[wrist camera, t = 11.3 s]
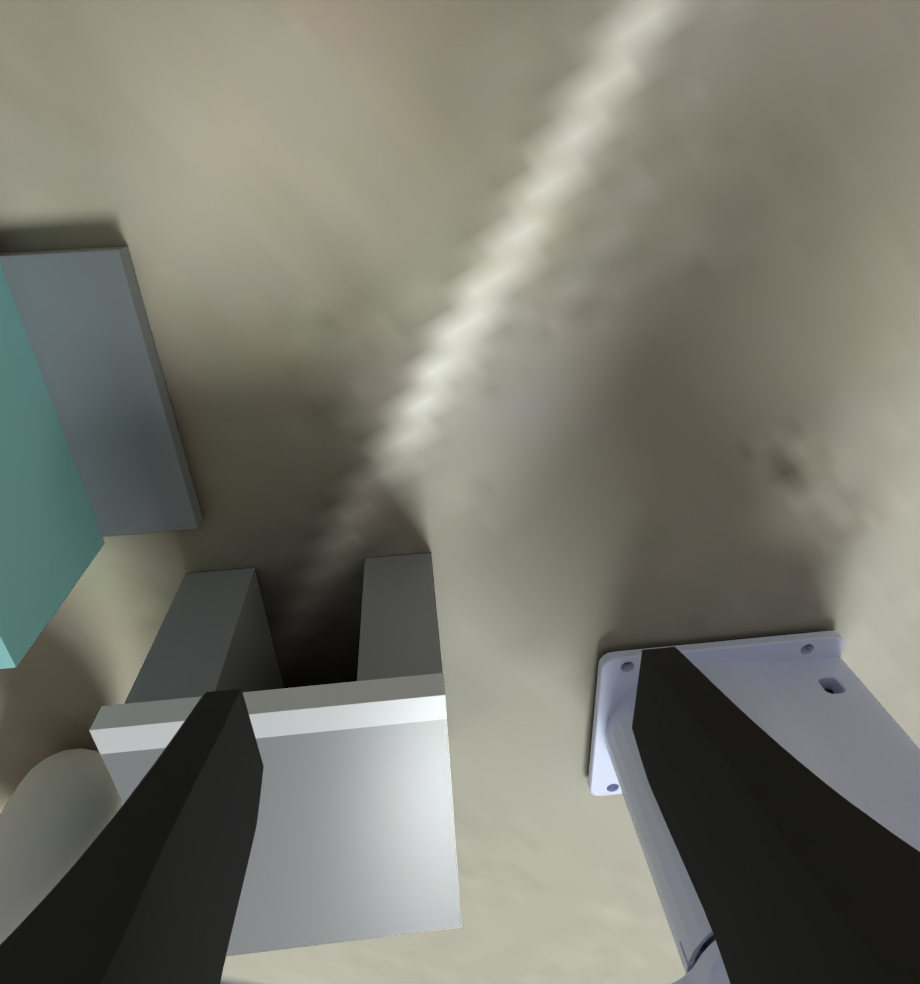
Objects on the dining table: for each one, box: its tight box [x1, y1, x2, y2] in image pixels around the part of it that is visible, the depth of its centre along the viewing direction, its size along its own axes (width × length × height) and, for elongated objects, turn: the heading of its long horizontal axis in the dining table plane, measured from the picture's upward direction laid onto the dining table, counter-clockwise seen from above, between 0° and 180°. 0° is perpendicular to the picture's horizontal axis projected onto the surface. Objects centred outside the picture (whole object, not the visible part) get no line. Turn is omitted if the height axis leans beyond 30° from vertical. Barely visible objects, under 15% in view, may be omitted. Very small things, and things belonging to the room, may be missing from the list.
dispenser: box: [89, 553, 461, 956], centre depth 20 cm, size 8×10×7 cm
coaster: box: [0, 246, 203, 537], centre depth 17 cm, size 8×8×1 cm
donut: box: [0, 748, 123, 944], centre depth 20 cm, size 10×4×10 cm, turn 145°
